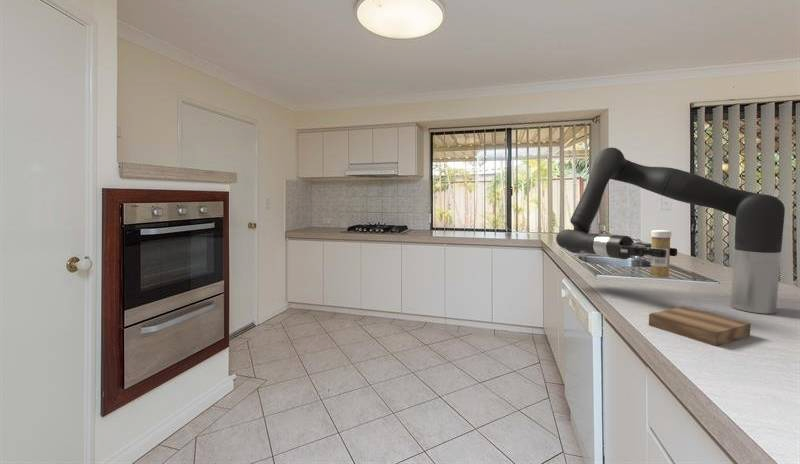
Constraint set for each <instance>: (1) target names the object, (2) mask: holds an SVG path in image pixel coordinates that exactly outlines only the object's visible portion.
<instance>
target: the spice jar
mask: <svg viewBox="0 0 800 464" xmlns="http://www.w3.org/2000/svg"><path fill="white" fill-rule="evenodd" d="M650 236H651V244H652V247H651V248H654V249H663V250H666V257H664V258H662V257H654V256H650V269H649V270H650V272H649V276H650V277H654V278H658V279H659V278H660V279H667V278H669V277H670V261H671V260H670V259H671V258H670V257H671V256H670V248H671V238H672V231H671V230H666V229H653V230H651V234H650Z"/></svg>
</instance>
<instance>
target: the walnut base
mask: <svg viewBox="0 0 800 464" xmlns="http://www.w3.org/2000/svg"><path fill="white" fill-rule="evenodd" d="M648 326H650V327H654V328H657V329H660V330H663V331H666V332H670V333H672V334H676V335H679V336H683V337H686V338H688V339H692V340H695V341H698V342H702V343H705V344H707V345H711V346H714V347H717V346H720V345H723V344H727V343H730V342H731V343H732V342H733V341H737V340H740V339H741V340H742V339H744V338H747V337H750V336H751V328H752V327H751V326H752V323H751V322H746V321H742V320H738V319H735V318H730V317H725V316H723V315H717V314H713V313H709V312H705V311H701V310H697V309H694V308H689V307H685V306H681V307H679V306H678V307H675V308H670V309H665V310H662V311H661V310H660V311H656V312H653V313H652V312H651V313H648Z"/></svg>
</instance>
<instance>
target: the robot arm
mask: <svg viewBox="0 0 800 464" xmlns="http://www.w3.org/2000/svg"><path fill="white" fill-rule="evenodd" d="M610 180H613V181H617V182H621V183H625V184H630V185H633V186H636V187H639V188H641V189H643V190H646V191H649V192H652V193H655V194H657V195H659V196H663V197H666V198H668V199H672V200H675V201H678V202H682V203H685V204H689V205H690V204H691V205H694V206H698V207H699V206H700V207H706V208H709V209H714V210H716V211H720V212H722V213H725V214H727V215H729V216H732V217H734V218H735V225H734V227H735V228H734V253H733V254H734V255H733V267H732V283H731V292H730V293H731V296H730V307H732V308H733V309H737V310H739V311H745V312H748V313H753V314H754V313H755V314H766V315H772V314H776V313H777V305H778V304H777V303H778V297H779V296H778V295H779V294H778V293H779V284H780V283H779V281H780V271H781V270H780V269H781V257H782V247H783V233H784V225H785V224H784V223H785V214H786V213H785V212H786V211H785V210H786V209H785V205H784V203H783V201H782V200H781V199H780V198H778V197H776V196H774V195H770V194H764V193H757V192H752V191H747V190H743V189H742V190H741V189H738V188H733V187H729V186H727V185H724V184H721V183H719V182H716V181H714V180H711V179H710V178H706V177H704V176H701V175H698V174H695V173H692V172H688V171H685V170H682V169H679V168H675V167H674V168H673V167H668V166H667V167H666V166H648V165H643V164H640V163H636V162H634V161H631V160H630V159H626V158H625V156H624V153H623V152H622V151H621V150H620V149H618V148H617V147H606V148H604V149H602V150H601V151H599V152H598V153H597V155H596V156H595V160H594V162H593V165H592V169H591V173H590V175H589V178H588V181H587V183H586V186H585V188H584V191H583V193H582V195H581V197H580V200H579V201H578V204H577V205H576V207H575V209H574V211H573V212H572V213H573V214H572V215H571V218H570V221H569V223H571V225H572V226H573V229H569V228H568V229H562V230H561V231H559V232H558V233H557V235H556V237H555V241H556V244H557V245H558V246H559V247H561V248H562V249H564V250H567V251H568V252H571V253H573V254H577V253H579V252H584V253H587V254H591V255H597V256H602V257H604V258H612V259H620V260H628V259H630V258H631V257H638V258H639V257H641V258H643V257H647V258H648V257H651V256H654V257H662V258H664V257H666V250H663V249H654V248H651V247H652V242H651V243H650V242H649V243H645V242H642V241H641V242H639V241H636V242H635V241H634V240H633V238H632V237H631V236H629V235H619V234H608V233H607V234H605V233H603V234H600V233H590V229H591V225H592V224H593V222H594V219H595V218H596V215H597V214H598V211H599V209H600V207H601V202H602V199H603V197H604V194H605V193H604V192H605V190H606V187H607V185H608V183H609V181H610ZM677 256H678V249H677V248H675V247H670V257H677Z"/></svg>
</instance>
